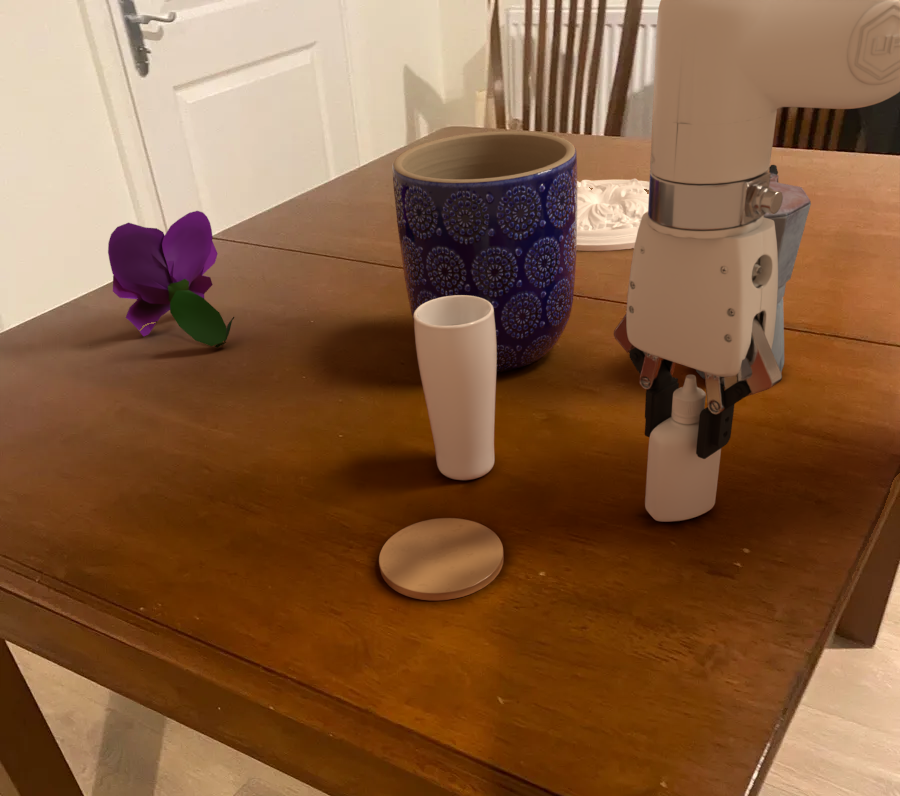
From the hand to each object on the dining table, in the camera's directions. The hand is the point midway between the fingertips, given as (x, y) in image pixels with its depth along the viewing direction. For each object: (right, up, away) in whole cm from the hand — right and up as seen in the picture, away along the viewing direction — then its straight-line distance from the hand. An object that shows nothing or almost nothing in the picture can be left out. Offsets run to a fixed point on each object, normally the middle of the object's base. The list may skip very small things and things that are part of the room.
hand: (685, 438), depth 72 cm
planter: (-14, +15, +31) cm, 37 cm away
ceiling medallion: (+4, +44, +64) cm, 77 cm away
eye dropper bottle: (+1, -5, +4) cm, 7 cm away
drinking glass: (-17, -1, +13) cm, 21 cm away
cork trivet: (-19, -10, +2) cm, 22 cm away
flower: (-50, +20, +41) cm, 68 cm away
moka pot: (+11, +11, +24) cm, 29 cm away
